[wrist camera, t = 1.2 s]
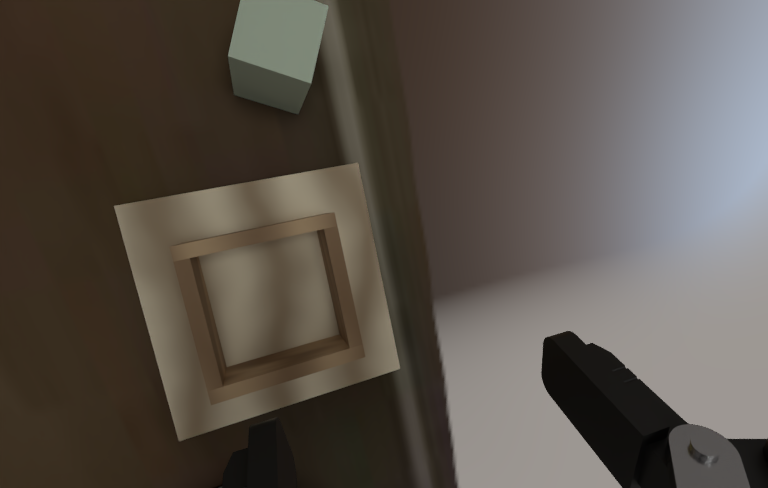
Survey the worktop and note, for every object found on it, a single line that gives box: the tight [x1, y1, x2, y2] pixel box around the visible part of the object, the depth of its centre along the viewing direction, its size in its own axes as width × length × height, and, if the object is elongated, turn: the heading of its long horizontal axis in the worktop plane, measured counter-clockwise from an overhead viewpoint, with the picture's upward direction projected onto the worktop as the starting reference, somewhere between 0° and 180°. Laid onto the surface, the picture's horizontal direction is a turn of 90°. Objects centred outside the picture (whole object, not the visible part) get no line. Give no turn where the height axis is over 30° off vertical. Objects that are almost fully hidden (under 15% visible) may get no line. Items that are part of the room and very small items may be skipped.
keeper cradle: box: [114, 163, 400, 441], centre depth 32 cm, size 18×18×5 cm
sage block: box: [228, 0, 329, 114], centre depth 29 cm, size 5×5×8 cm
